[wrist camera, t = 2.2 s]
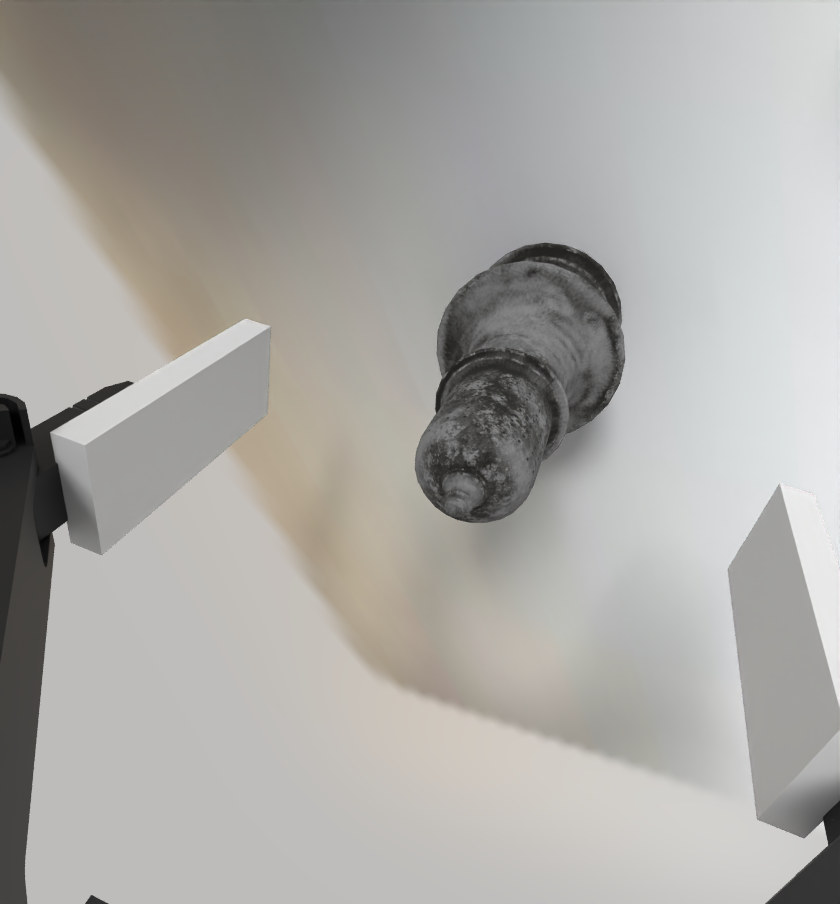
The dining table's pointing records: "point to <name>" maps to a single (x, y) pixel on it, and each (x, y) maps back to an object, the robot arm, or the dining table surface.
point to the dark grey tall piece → (517, 376)
